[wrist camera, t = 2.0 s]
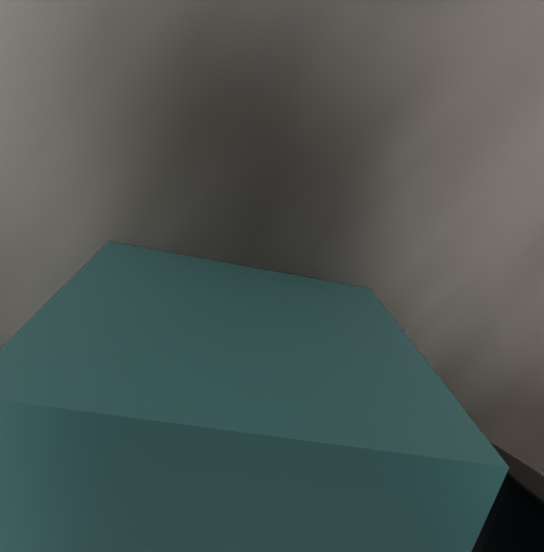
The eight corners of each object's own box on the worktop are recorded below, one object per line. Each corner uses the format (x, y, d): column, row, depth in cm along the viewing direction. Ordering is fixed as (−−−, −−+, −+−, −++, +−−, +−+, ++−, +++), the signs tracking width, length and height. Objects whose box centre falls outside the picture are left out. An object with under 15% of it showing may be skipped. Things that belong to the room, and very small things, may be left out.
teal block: (368, 287, 9) (508, 466, 5) (310, 488, 11) (367, 780, 6) (109, 240, 9) (-45, 394, 4) (85, 462, 10) (-48, 768, 5)
